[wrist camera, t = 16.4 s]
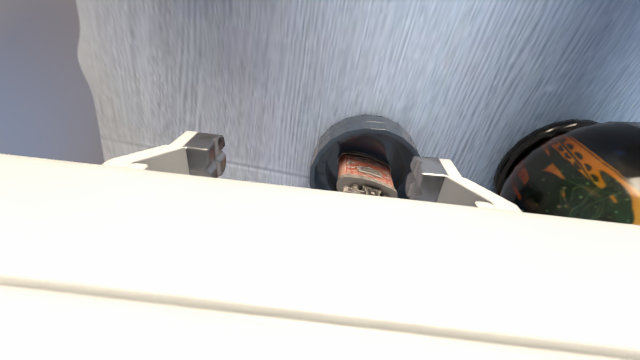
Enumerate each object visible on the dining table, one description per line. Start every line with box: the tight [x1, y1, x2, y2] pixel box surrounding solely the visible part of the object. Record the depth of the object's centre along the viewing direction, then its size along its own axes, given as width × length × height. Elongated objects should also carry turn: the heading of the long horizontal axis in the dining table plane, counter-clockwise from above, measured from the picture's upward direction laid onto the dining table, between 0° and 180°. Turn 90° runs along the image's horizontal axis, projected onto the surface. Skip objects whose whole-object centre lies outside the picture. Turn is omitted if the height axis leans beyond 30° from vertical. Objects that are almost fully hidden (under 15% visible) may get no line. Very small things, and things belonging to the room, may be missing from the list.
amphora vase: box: [494, 119, 640, 225], centre depth 32 cm, size 22×22×28 cm
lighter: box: [336, 150, 397, 198], centre depth 41 cm, size 8×3×10 cm, turn 74°
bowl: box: [310, 115, 420, 199], centre depth 43 cm, size 15×15×6 cm
